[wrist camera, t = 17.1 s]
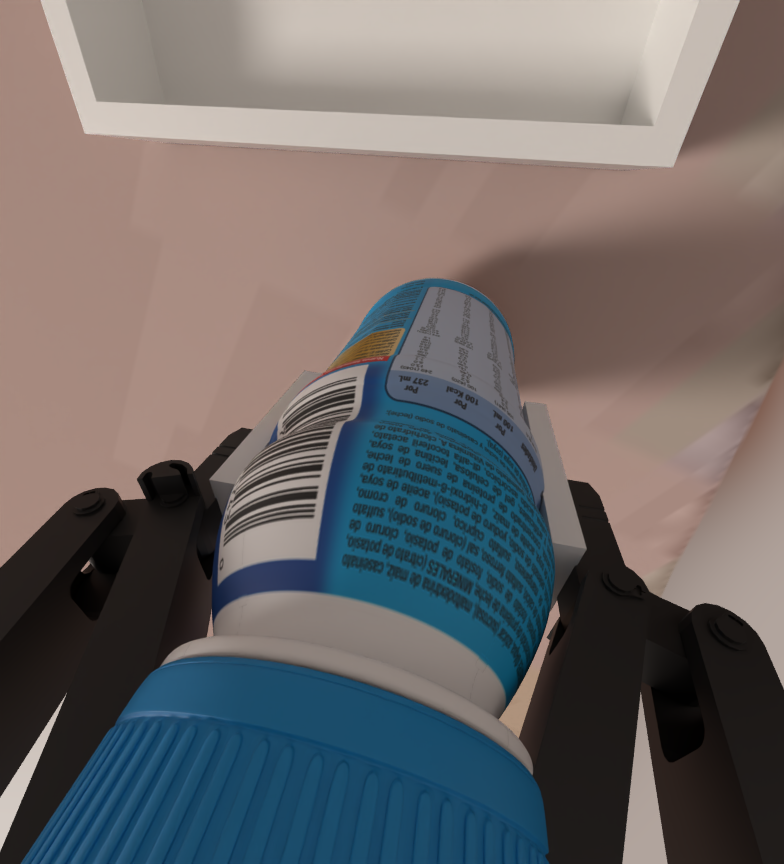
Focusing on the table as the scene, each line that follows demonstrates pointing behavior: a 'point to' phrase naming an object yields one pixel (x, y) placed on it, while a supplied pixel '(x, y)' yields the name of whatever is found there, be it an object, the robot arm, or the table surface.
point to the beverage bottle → (352, 628)
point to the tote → (397, 75)
